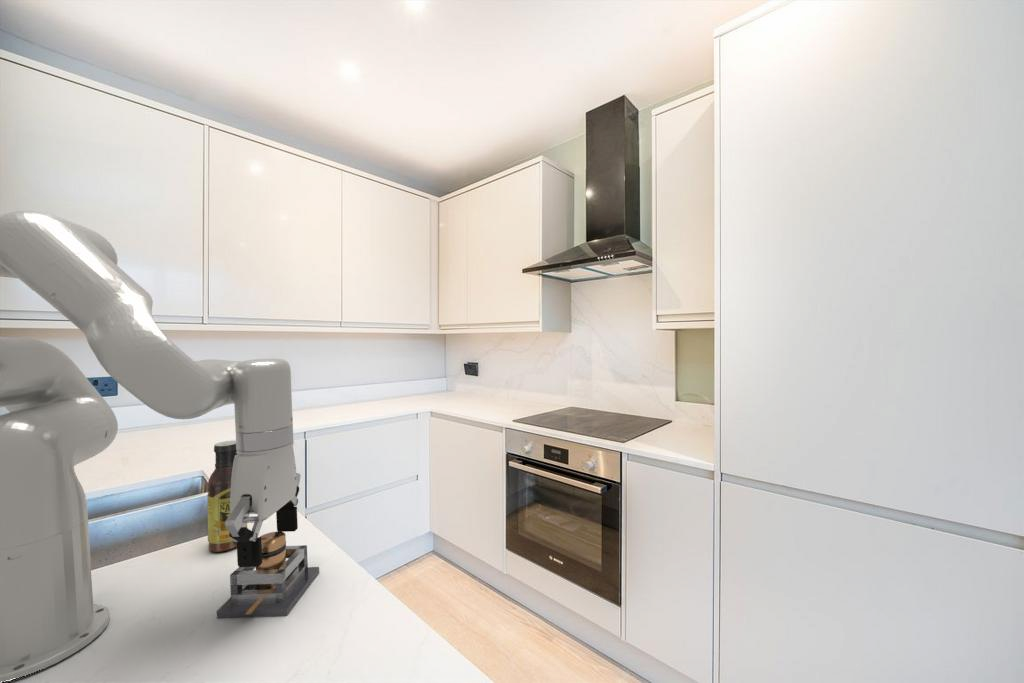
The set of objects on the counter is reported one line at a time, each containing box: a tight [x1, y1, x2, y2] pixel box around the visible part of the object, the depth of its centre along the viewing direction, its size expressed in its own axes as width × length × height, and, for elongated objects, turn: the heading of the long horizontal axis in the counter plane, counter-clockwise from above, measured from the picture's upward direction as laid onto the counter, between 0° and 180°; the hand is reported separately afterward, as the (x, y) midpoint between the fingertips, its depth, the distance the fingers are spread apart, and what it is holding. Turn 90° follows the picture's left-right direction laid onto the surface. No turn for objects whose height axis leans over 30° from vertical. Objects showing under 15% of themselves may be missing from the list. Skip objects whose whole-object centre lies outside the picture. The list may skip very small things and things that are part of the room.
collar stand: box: [216, 544, 320, 619], centre depth 61 cm, size 10×11×6 cm
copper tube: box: [255, 531, 287, 590], centre depth 61 cm, size 4×4×8 cm
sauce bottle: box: [206, 440, 248, 553], centre depth 76 cm, size 7×6×20 cm
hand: (270, 546), depth 61 cm, fingers open, 9 cm apart
